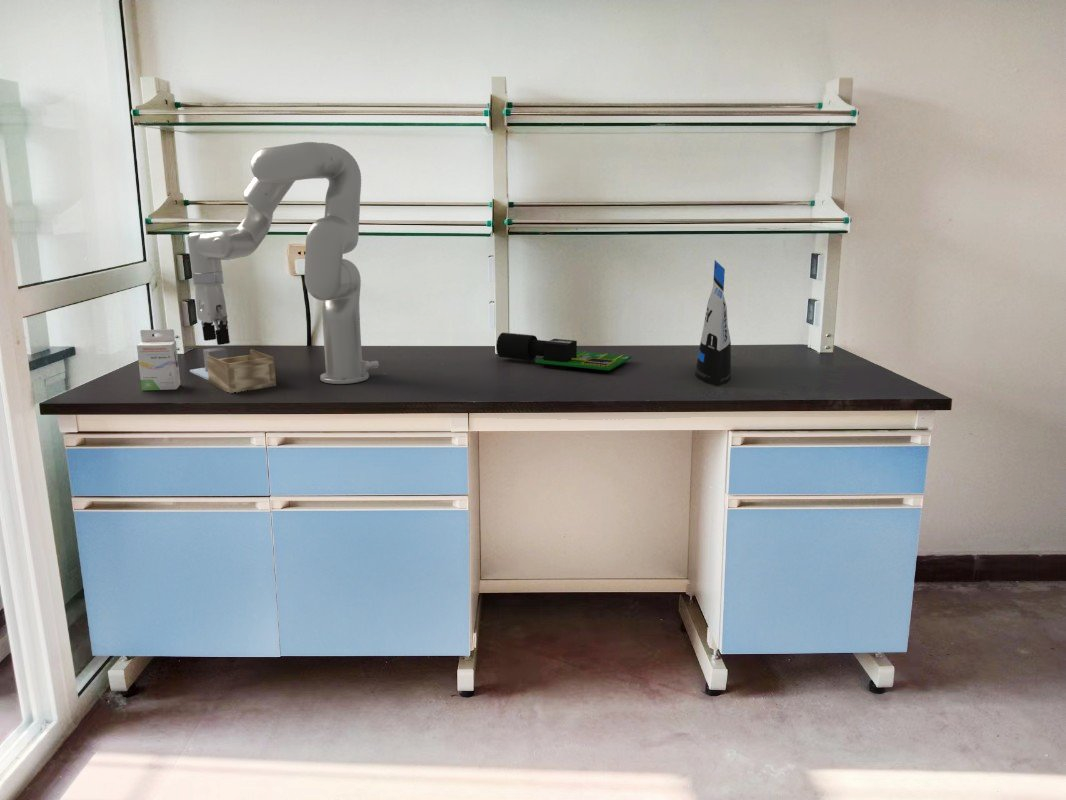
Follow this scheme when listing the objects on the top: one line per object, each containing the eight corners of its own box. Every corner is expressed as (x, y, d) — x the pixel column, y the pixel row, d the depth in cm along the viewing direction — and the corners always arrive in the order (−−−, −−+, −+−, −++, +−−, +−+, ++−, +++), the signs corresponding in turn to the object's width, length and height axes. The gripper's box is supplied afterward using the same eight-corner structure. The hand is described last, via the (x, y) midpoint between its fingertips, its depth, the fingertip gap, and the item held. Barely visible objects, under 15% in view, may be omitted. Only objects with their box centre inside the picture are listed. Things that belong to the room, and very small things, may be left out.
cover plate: (226, 367, 235) (223, 343, 233) (245, 375, 226) (243, 350, 224) (190, 373, 228) (187, 348, 227) (208, 381, 219) (205, 355, 217)
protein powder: (725, 366, 235) (732, 260, 227) (736, 387, 211) (744, 269, 204) (691, 365, 236) (697, 259, 228) (698, 386, 212) (705, 269, 205)
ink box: (140, 391, 208) (133, 333, 204) (145, 386, 212) (138, 329, 208) (177, 389, 209) (170, 331, 205) (181, 384, 214) (175, 328, 210)
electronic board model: (632, 335, 237) (610, 346, 222) (631, 363, 239) (609, 375, 224) (522, 325, 252) (493, 335, 237) (522, 352, 255) (494, 363, 239)
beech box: (253, 376, 223) (251, 348, 221) (276, 385, 213) (273, 357, 211) (209, 383, 215) (206, 355, 214) (230, 393, 205) (227, 363, 203)
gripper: (182, 278, 224) (191, 340, 229) (205, 282, 212) (214, 348, 216) (210, 275, 229) (218, 336, 233) (234, 279, 216) (242, 343, 221)
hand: (216, 341), depth 225 cm, fingers open, 9 cm apart
